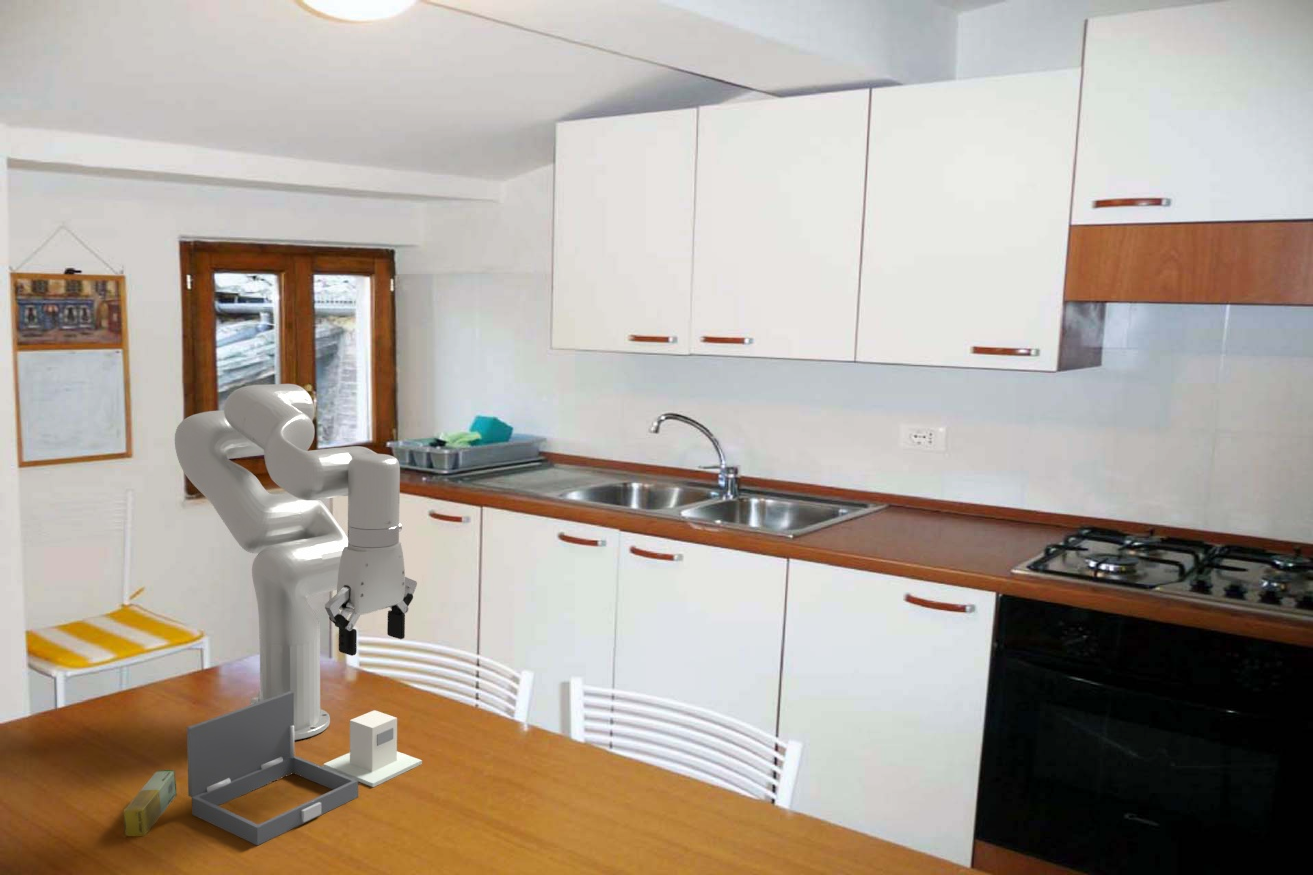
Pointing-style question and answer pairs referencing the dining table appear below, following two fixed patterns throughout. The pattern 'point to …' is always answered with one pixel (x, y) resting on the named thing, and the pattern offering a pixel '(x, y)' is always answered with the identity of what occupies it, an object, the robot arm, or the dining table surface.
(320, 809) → the case
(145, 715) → the dining table surface
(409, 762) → the mat
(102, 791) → the dining table surface
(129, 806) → the medication box
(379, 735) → the block
